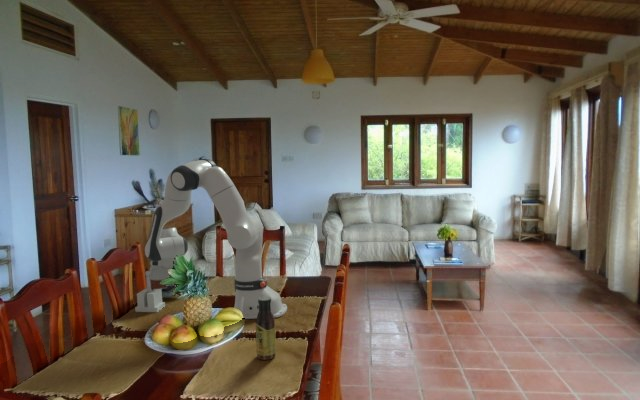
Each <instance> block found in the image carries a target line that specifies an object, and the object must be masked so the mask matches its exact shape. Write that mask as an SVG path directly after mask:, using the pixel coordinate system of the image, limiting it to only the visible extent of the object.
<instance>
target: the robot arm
mask: <svg viewBox="0 0 640 400" xmlns="http://www.w3.org/2000/svg"><path fill="white" fill-rule="evenodd" d="M198 188H203V189H204V190H205V191H206V193H207V194H208V196H209V198H210V200H211V202H212V203H213V205H214V206H215V209H216V210H217V212H218V214H219V216H220V219H221V220H222V221H221V222H222V224H223V226H224V229H225V232H226V237H227V241H228V244H229V245H230V246H231V247H232V248H233V249H235V250H236V251H235V257H234V277H235V278H234V282H233V283H234V284H233V285H234V287H233V288H234V292H235V299H234V307H233V309H234V308H237V309H239V310H240V311H241V312H242V314H243V316H244V318H245V319H244V320H250V319H257V316H258V312H259V303H258V299H259V298H260V297H263V296H268V297H270V298H271V303H270V305H271V313H272V314H273V316H274V318H279V317H282V316H284V315H285V313H287V311H288V306H287V304H286V303H283V302H282V298H281V295H280V294H279V293H278V292H277V291H276V290H274V289H273V288H271V287H270V286H268V278H265V277H264V276H263V268H262V266H263V265H262V254H263V252H262V251H263V241H264V240H263V239H264V237H263V236H264V235H263V234H264V224H263V223H262V221H261V220H260V219H258V218H257V217H252V216H249V214H248V211H247V209H246V206H245V200H244V199H243V198H242V196H241V194H240V192H239V191H238V188H237V187H236V185H235V184H234V182H233V180H232V179H231V177H230V176H229V175H228V174H227V172H226V171H225V170H224V169H223V168H222V167H220V166H217V164H216V163H215V162H214V161H213V160H212V159H209V158H201V159H198V160H194V161H189V162H187V163H184V164H182V165H179V166H176V167H175V168H174V169H173V170H172V171H171V172H169V174H168V175H167V179H166V183H165V188H164V189H165V190H164V197H163V200H162V202H161V204H160V205H159V206H158V207H156V209H155V210H154V214H153V218H152V220H151V221H152V222H151V225H150V229H149V234H148V238H147V241H146V243H145V246H144V254H145V257H146V258H147V259H148V260H150V262H149V263H150V264H149V265H150V268H149V271H150V273H151V274H150V281H164V279H166V278H169V277H170V276H169V274H168V272H167V269H172V268H173V261H174V258H175V257H176V255H178V254H182V255H183V256H185V255H186V253H188V251H189V245H188V240H187V239H186V237H184V236H182V235H180V234H179V233H178V230H177V228H176V227H175V226H169V227H164V226H165V225H166V224H167V223H168V222H169V221H171V220H173V219H175V218H177V217H180V216H182V215H183V214H185V213H186V212H188V210H189V208H190V206H191V202H192V191H193V190H194V191H195V190H197V189H198ZM175 287H176V285H174V286H173V288H175ZM165 288H167V285H165Z"/></svg>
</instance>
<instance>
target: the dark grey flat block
mask: <svg viewBox="0 0 640 400" xmlns="http://www.w3.org/2000/svg"><path fill="white" fill-rule="evenodd" d="M173 286H174V284H172V285H167V288H166V287H160V288H159V289H161V290H162V298H171V297H173V295H172V291H173V289H174V288H173Z"/></svg>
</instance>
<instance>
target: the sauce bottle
mask: <svg viewBox="0 0 640 400" xmlns="http://www.w3.org/2000/svg"><path fill="white" fill-rule="evenodd" d="M258 303H259V312H258V316H257V318H255V319H256V321H255V341H256V342H255V343H256V354H257V355H256V356H257V358H258V359H260V360H262V361H266V360H271V359H274V358H275V357H276V354H277V353H276V350H277V345H276V343H277V341H276V325H275V324H276V322H275V320H276V319H275V317H274V316H273V314H272V313H271V305H270V303H271V298H270V297H268V296H263V297H260V298H259V299H258Z"/></svg>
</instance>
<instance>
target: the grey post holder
mask: <svg viewBox="0 0 640 400" xmlns="http://www.w3.org/2000/svg"><path fill="white" fill-rule="evenodd" d="M150 274H151V273H150V270H146V271H145V272H144V275H145V277H146V278H145V279H146V288H144V289H143V290H141V291H139V292H138V293H136V301H137V306H135V307H134V308H135V309H134V310H135V312H136V313H158V312H160V311H161V310H163V309H164V308H165V307H166V302H165V301H163V297H162V290H161V289H160V288H154V289H152V284H151V279H150ZM163 307H164V308H163ZM162 308H163V309H162ZM159 310H160V311H159Z"/></svg>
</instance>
